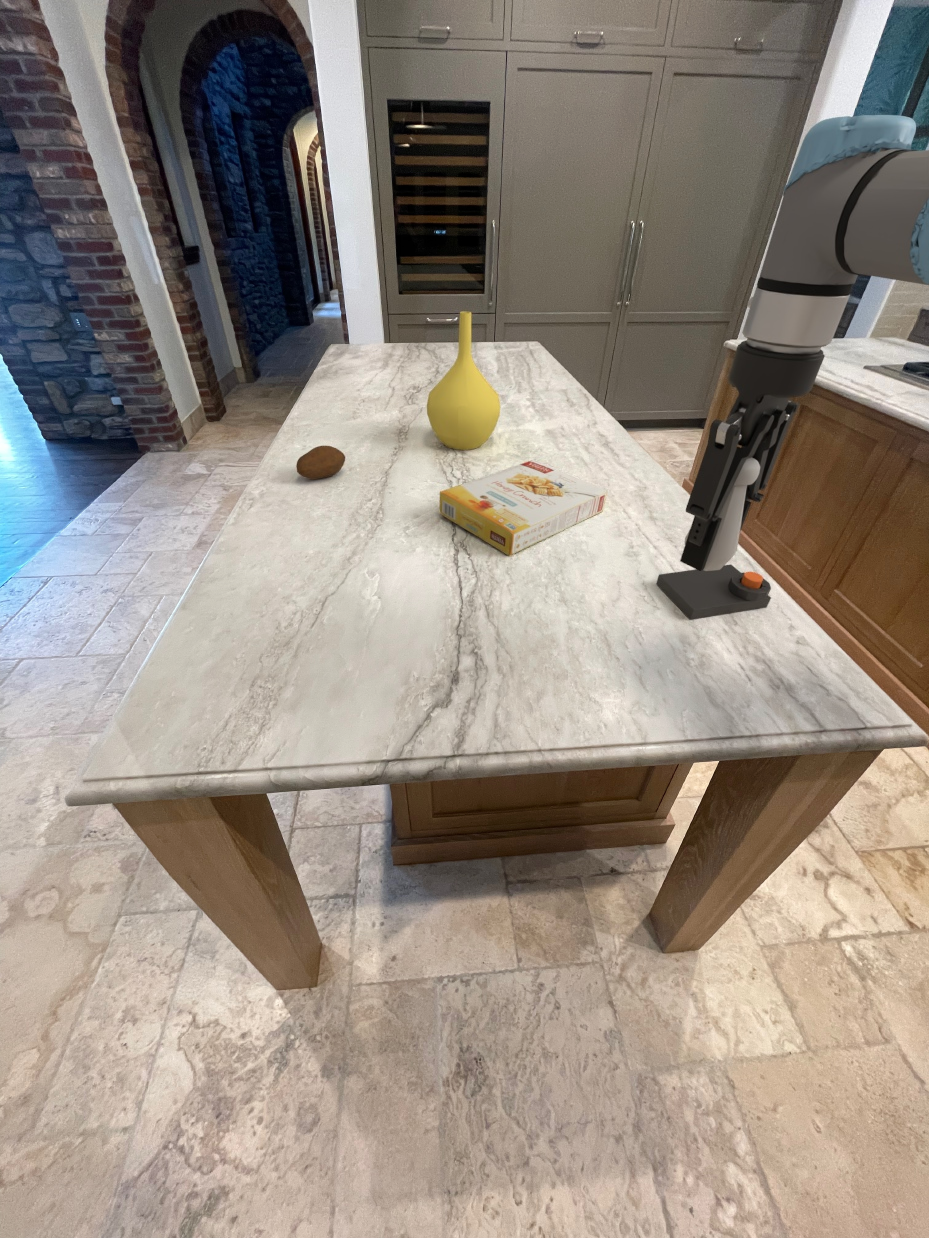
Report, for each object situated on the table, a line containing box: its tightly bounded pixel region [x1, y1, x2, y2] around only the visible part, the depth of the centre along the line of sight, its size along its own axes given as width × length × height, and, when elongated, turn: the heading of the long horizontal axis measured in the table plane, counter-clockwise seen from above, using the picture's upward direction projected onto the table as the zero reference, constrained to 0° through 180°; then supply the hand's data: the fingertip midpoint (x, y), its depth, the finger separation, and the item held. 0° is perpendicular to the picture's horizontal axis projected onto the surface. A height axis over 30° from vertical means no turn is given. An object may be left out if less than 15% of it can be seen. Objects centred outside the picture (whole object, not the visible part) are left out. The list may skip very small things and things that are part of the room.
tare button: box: [741, 571, 764, 589], centre depth 84 cm, size 3×3×2 cm
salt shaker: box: [684, 457, 760, 571], centre depth 61 cm, size 6×6×13 cm
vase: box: [426, 310, 501, 451], centre depth 130 cm, size 18×18×30 cm
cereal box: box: [438, 458, 608, 557], centre depth 107 cm, size 20×6×28 cm
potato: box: [295, 445, 346, 480], centre depth 118 cm, size 7×12×7 cm, turn 136°
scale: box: [655, 564, 772, 621], centre depth 86 cm, size 14×10×4 cm
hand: (706, 555), depth 64 cm, fingers closed on salt shaker, 6 cm apart
